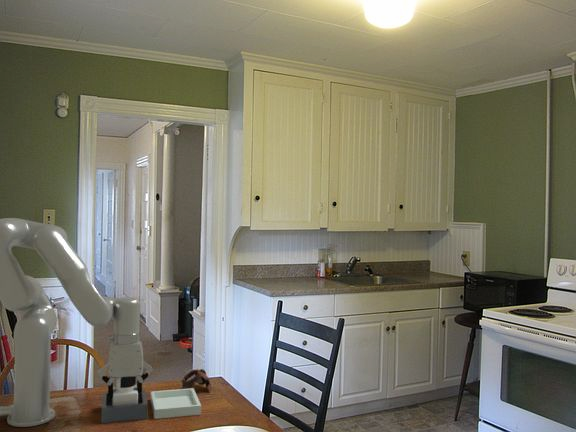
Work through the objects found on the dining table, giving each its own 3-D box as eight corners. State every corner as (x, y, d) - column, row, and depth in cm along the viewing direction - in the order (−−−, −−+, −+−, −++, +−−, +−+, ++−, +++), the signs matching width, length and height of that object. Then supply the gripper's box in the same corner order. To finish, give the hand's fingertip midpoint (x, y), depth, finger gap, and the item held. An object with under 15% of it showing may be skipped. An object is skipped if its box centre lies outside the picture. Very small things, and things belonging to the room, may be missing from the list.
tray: (154, 419, 154) (154, 409, 154) (150, 400, 169) (150, 391, 169) (200, 414, 158) (201, 405, 158) (193, 396, 173) (193, 388, 173)
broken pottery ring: (210, 397, 174) (199, 378, 173) (186, 407, 176) (175, 388, 174) (217, 377, 186) (206, 359, 184) (195, 386, 188) (184, 368, 186)
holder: (101, 423, 149) (101, 408, 149) (102, 407, 162) (102, 392, 161) (147, 419, 153) (147, 404, 153) (144, 403, 166) (145, 389, 166)
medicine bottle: (135, 407, 162) (136, 369, 162) (137, 415, 155) (138, 376, 155) (111, 409, 160) (112, 371, 160) (112, 418, 153) (113, 378, 153)
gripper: (96, 342, 151) (94, 402, 151) (156, 339, 157) (155, 397, 157) (96, 336, 158) (95, 394, 158) (154, 334, 164) (153, 389, 164)
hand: (124, 395), depth 157 cm, fingers closed on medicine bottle, 7 cm apart
